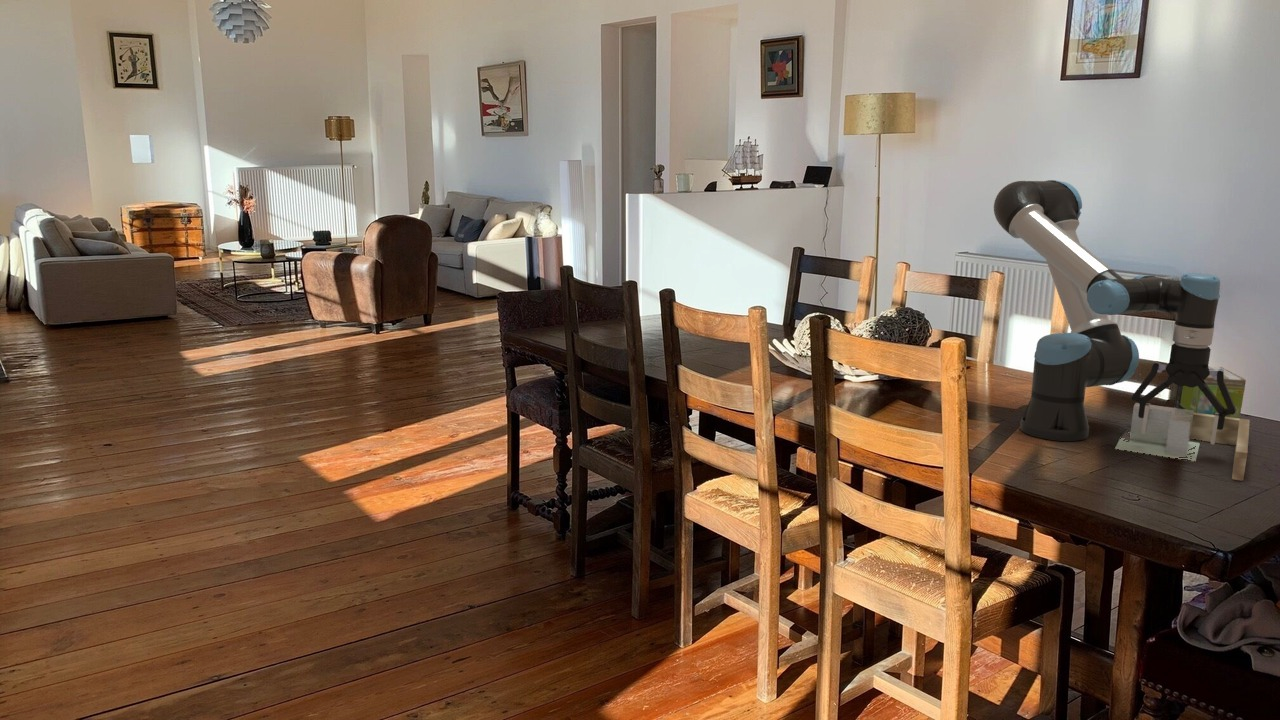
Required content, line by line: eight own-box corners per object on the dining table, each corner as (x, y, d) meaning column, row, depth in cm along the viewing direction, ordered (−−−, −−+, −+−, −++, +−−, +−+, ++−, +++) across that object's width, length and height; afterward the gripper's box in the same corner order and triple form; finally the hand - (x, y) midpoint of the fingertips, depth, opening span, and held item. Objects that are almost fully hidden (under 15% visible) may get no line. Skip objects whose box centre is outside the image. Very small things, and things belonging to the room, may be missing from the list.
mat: (1114, 449, 219) (1114, 448, 219) (1123, 432, 233) (1123, 431, 232) (1195, 462, 211) (1195, 461, 211) (1199, 443, 224) (1199, 443, 224)
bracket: (1185, 457, 213) (1190, 422, 212) (1125, 448, 220) (1129, 414, 218) (1189, 444, 223) (1193, 410, 222) (1131, 435, 230) (1135, 402, 228)
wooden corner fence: (1135, 463, 209) (1138, 436, 208) (1149, 430, 234) (1152, 406, 233) (1243, 480, 199) (1247, 453, 198) (1245, 444, 224) (1249, 419, 222)
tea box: (1238, 440, 227) (1247, 379, 224) (1191, 437, 229) (1200, 376, 226) (1214, 422, 242) (1223, 365, 239) (1171, 420, 244) (1178, 363, 241)
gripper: (1126, 340, 215) (1114, 431, 220) (1258, 355, 202) (1242, 451, 207) (1130, 335, 221) (1118, 424, 226) (1258, 349, 208) (1243, 443, 213)
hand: (1177, 437), depth 217 cm, fingers open, 13 cm apart
